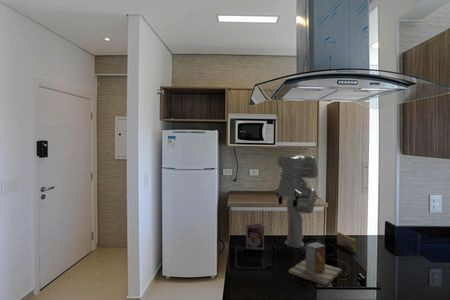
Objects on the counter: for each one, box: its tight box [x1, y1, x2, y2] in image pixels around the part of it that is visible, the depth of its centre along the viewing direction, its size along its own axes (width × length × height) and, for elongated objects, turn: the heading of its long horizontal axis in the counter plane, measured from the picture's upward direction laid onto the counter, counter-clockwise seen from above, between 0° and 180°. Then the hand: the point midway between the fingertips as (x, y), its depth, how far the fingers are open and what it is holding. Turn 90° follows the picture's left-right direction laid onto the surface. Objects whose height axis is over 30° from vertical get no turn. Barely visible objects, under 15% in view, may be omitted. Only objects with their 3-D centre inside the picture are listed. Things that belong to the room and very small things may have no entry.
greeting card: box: [245, 222, 265, 251], centre depth 185 cm, size 11×7×15 cm, turn 83°
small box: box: [305, 241, 326, 273], centre depth 151 cm, size 8×6×13 cm
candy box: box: [336, 231, 357, 253], centre depth 187 cm, size 16×2×8 cm, turn 15°
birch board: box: [288, 258, 342, 287], centre depth 151 cm, size 20×20×2 cm
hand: (287, 205), depth 173 cm, fingers open, 9 cm apart
